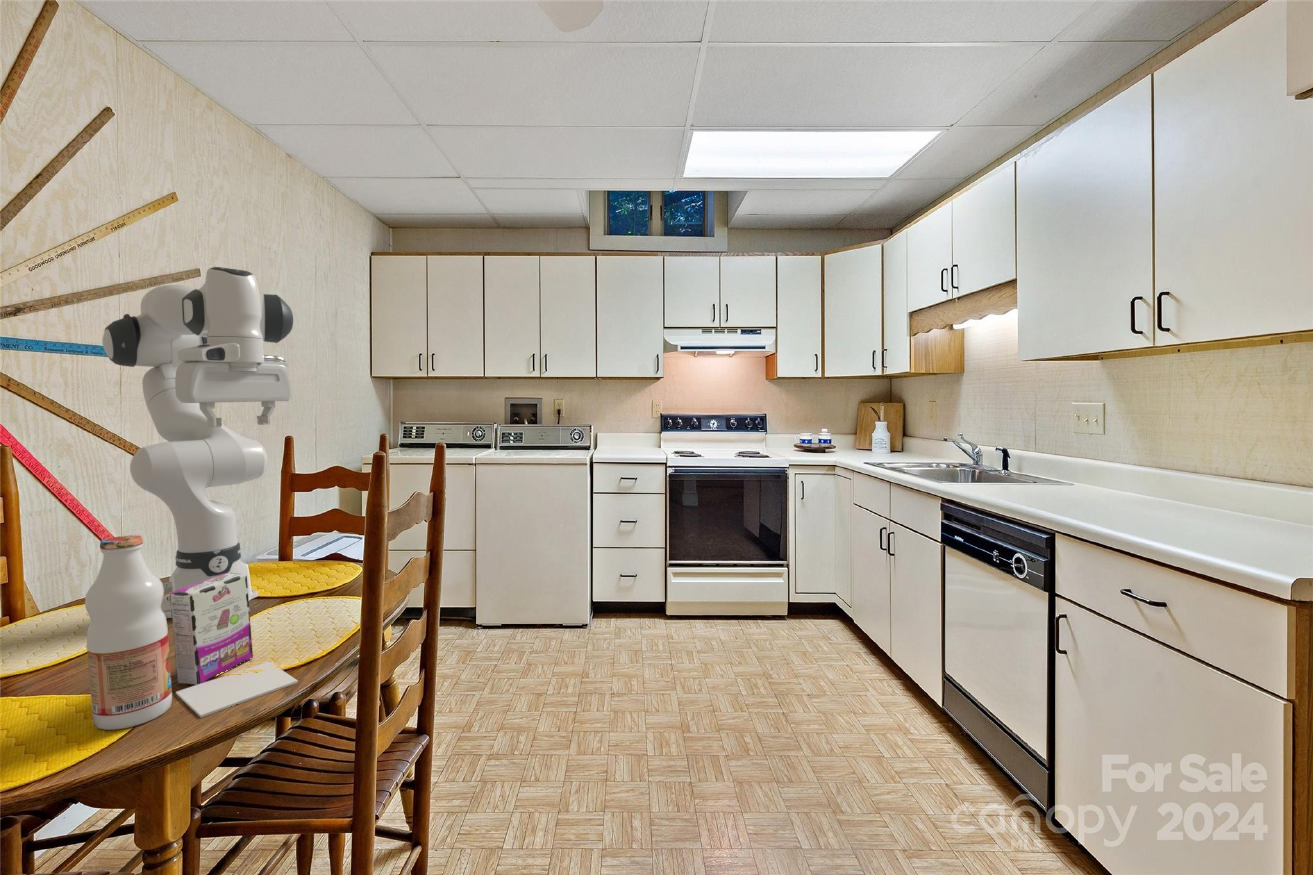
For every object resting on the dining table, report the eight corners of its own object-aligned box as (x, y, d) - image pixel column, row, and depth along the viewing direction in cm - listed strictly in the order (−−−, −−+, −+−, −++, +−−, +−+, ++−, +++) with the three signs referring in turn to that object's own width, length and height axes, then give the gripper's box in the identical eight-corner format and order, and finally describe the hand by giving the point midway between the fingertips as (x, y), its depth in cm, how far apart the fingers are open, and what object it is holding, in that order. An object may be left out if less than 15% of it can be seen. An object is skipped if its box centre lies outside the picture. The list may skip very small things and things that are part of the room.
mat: (175, 693, 101) (175, 691, 101) (269, 663, 112) (269, 661, 112) (200, 717, 94) (200, 715, 94) (297, 682, 105) (297, 680, 105)
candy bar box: (231, 656, 115) (226, 571, 114) (254, 658, 114) (249, 573, 113) (174, 684, 104) (167, 591, 103) (198, 687, 103) (192, 593, 102)
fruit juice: (75, 728, 91) (60, 545, 88) (139, 697, 100) (127, 530, 98) (128, 734, 89) (114, 548, 87) (188, 702, 98) (177, 532, 96)
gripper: (276, 356, 127) (279, 422, 128) (167, 351, 108) (172, 428, 109) (298, 356, 124) (301, 423, 125) (190, 350, 105) (195, 429, 106)
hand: (240, 426), depth 117 cm, fingers open, 8 cm apart
